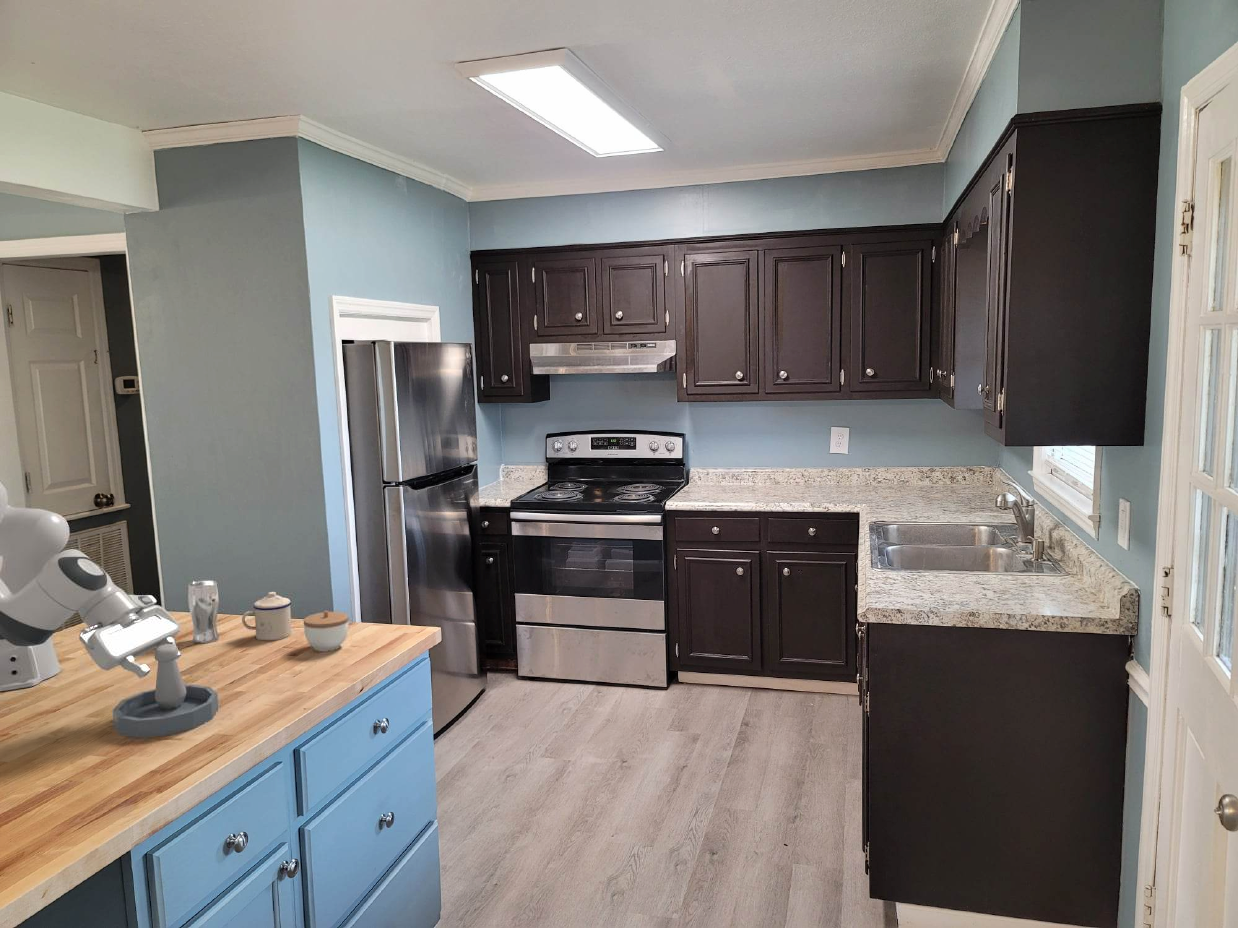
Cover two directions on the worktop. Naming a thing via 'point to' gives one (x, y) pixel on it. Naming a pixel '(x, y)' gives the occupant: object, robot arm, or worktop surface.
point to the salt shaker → (168, 678)
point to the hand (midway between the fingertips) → (161, 666)
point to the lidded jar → (326, 630)
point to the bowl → (164, 713)
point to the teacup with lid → (271, 618)
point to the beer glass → (204, 610)
